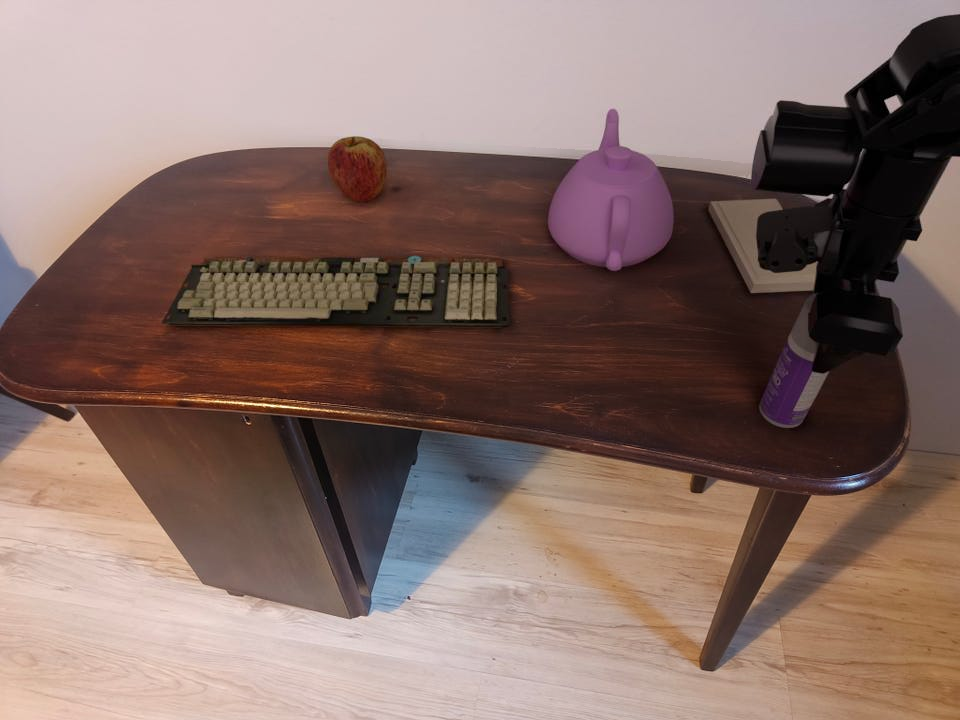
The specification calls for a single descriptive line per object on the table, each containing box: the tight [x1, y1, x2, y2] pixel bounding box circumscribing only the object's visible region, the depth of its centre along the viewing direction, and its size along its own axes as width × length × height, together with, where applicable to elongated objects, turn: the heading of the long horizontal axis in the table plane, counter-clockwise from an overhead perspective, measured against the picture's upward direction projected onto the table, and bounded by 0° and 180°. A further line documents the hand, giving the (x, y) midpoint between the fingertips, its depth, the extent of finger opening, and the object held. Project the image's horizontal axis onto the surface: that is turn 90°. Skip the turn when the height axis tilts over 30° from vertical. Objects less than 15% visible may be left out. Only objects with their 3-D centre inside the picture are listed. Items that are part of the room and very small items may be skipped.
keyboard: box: [161, 255, 511, 329], centre depth 86 cm, size 45×15×2 cm, turn 88°
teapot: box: [547, 108, 675, 272], centre depth 90 cm, size 25×18×14 cm
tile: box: [708, 198, 817, 294], centre depth 90 cm, size 20×10×2 cm, turn 2°
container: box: [758, 293, 830, 429], centre depth 64 cm, size 5×5×15 cm
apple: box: [327, 135, 388, 203], centre depth 100 cm, size 9×9×10 cm
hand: (816, 338), depth 62 cm, fingers open, 9 cm apart
